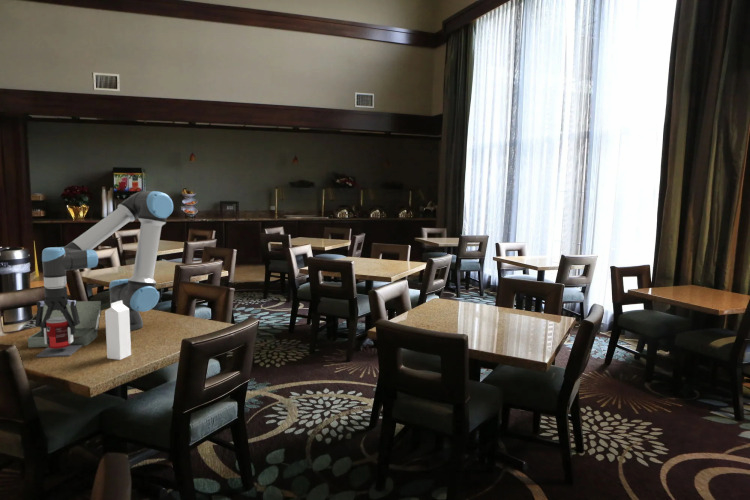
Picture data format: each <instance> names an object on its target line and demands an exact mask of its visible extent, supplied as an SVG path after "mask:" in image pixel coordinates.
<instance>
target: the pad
mask: <svg viewBox="0 0 750 500" xmlns="http://www.w3.org/2000/svg"><path fill="white" fill-rule="evenodd" d="M82 347H83V346H82V345H69V346H67V347H64V348H57V349H52V348H49V347H45V349H44V350H42V351H41V352H40V353H38V354H37V355H35V358H49V357H50V358H53V357H54V358H55V357H71V356H72V355H73V354H74V353H75V352H76V351H79V349H81V348H82Z"/></svg>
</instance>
